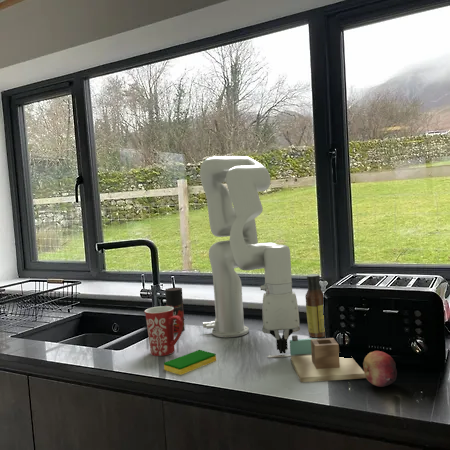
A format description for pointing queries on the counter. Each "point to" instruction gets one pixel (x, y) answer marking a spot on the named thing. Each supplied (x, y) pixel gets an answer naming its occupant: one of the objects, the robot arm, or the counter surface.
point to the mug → (162, 329)
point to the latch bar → (300, 345)
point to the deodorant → (175, 305)
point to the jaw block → (325, 353)
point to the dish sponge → (189, 362)
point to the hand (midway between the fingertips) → (282, 351)
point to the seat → (311, 374)
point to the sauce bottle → (315, 307)
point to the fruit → (380, 368)
